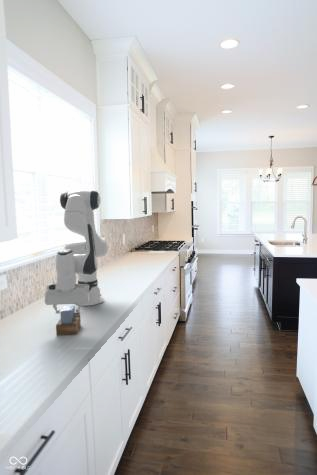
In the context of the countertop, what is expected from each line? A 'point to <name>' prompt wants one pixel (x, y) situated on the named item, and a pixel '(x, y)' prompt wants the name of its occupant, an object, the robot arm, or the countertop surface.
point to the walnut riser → (69, 326)
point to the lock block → (67, 314)
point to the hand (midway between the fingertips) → (67, 312)
